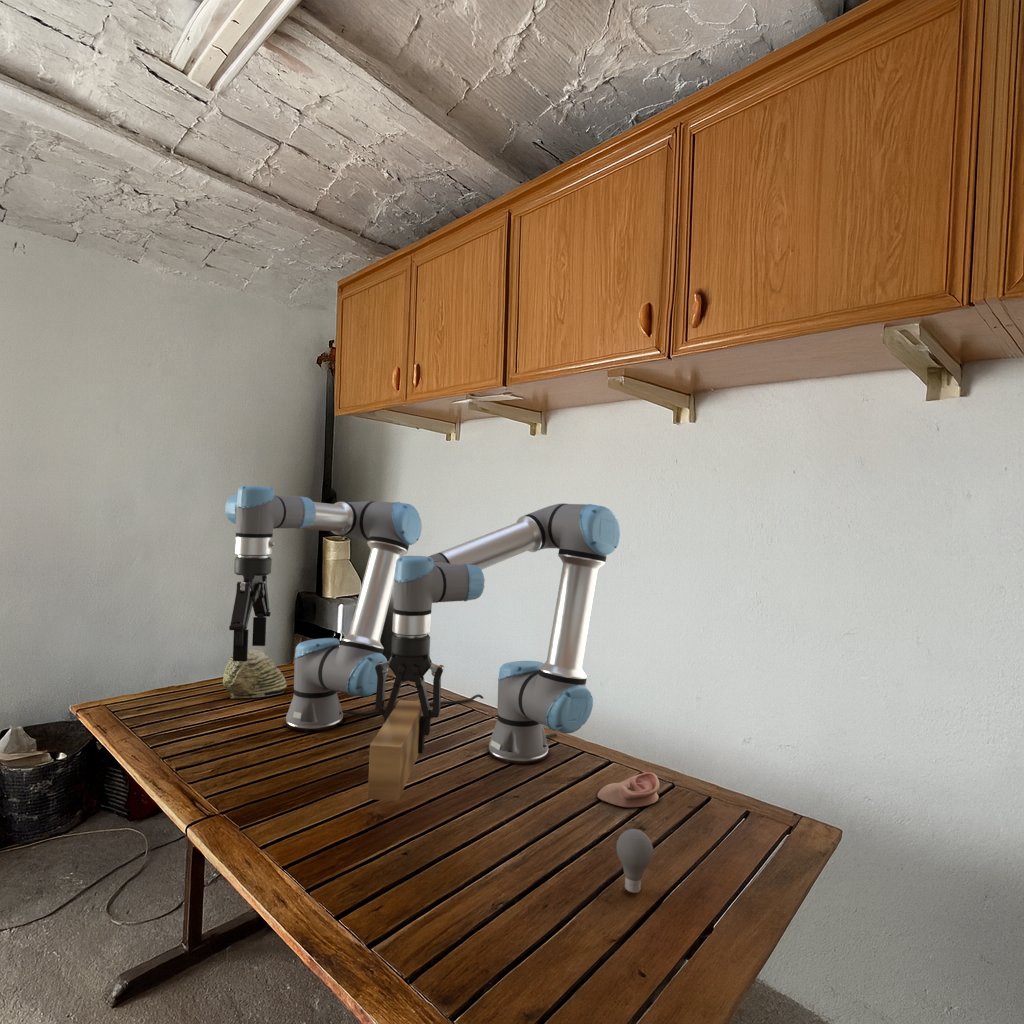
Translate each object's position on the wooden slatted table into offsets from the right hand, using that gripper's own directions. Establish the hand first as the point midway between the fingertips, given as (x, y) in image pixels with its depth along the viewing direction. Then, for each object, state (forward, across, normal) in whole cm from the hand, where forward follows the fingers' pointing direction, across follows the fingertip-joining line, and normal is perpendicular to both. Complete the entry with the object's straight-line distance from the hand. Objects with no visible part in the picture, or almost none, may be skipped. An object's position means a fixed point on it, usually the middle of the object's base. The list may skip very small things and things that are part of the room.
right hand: (406, 749), depth 126 cm
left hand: (-15, +37, -12) cm, 42 cm away
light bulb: (+14, -42, +20) cm, 49 cm away
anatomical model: (+14, -47, -14) cm, 51 cm away
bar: (+1, 0, +8) cm, 8 cm away
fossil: (+14, +60, -71) cm, 94 cm away
